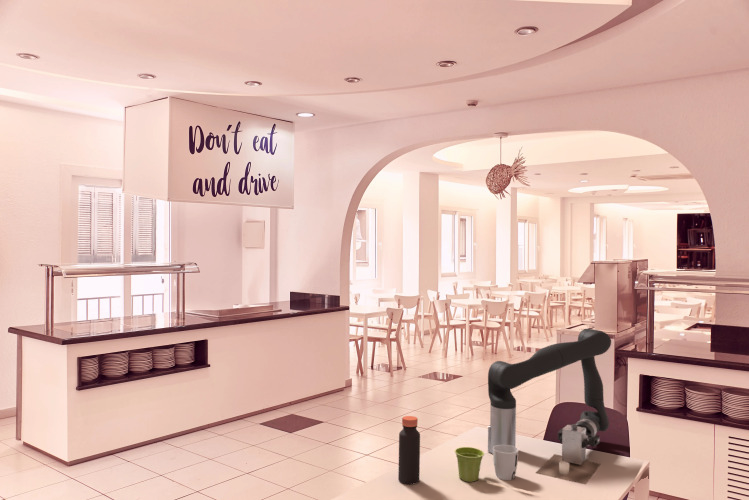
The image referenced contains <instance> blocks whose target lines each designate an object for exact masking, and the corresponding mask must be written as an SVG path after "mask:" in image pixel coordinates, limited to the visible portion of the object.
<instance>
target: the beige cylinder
mask: <svg viewBox="0 0 749 500" xmlns="http://www.w3.org/2000/svg"><path fill="white" fill-rule="evenodd" d="M559 474H561V475H565V476H567V475H569V463H568V462H565V461H560V462H559Z"/></svg>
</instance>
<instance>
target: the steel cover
mask: <svg viewBox="0 0 749 500" xmlns="http://www.w3.org/2000/svg"><path fill="white" fill-rule="evenodd" d="M561 429H562V444H561V456H562V461H565V462H570V463H575V464H579V465H581V464H582V463H583V462H584V461H586V458H587V457H586V454H587V453H586V450H587V449H586V448H587V447H585V448H582V441H583V440H584V439H585V438H586V428H583V427H578V426H577V425H576V423H573V424H572V423H571V424H567V425H565V426H564V427H563V428H561Z"/></svg>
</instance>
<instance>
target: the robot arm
mask: <svg viewBox="0 0 749 500" xmlns="http://www.w3.org/2000/svg"><path fill="white" fill-rule="evenodd" d="M611 346H612V339H611V337H610V335H609V334H608V333H606V332H604V331H602V330H598V329H592V328H584V329H581V331H580V332H579V333H578V337H577V340H576V341H570V342H569V341H568V342H565V341H564V342H559V343H554V344H550V345H546V346H545V347H542V348H540V349H538V350H537V351H535V352H534V353H533V355H532V356H531V357H529V358H528V359H526V360H524V361H520V362H517V363H509V362H506V361H502V360H497V361H495V362H493V363H491V365H490V366H489V369H488V373H487V388H488V389H487V391H488V398H489V401H490V402H489V403H490V411H489V412H490V414H489V415H490V416H489V417H490V418H489V419H490V420H489V421H490V422H489V424H490V425H488V426H487V452H488V453H491V454H492V455H493V447H494V446H496V445H510V446H514V447H516V441H517V440H516V439H517V437H516V436H517V433H516V431H517V430H516V429H517V427H516V426H517V399H516V398H515V396H514V395H513V393H512V392H511V391H512V390H513V389H515V388H518V387H519V386H521V385H523V384H525V383H526V382H529V381H530V380H533V379H535V378H538V377H540V376H543V375H546V374H548V373H552V372H555V371H557V370H559V369H561V368H564V367H567V366H570V365H572V364H574V363H577V362H579V361H580V363H581V369H582V374H583V386H584V387H583V388H584V389H583V390H584V391H583V392H584V393H583V394H584V403H585V405H586V406H588V407H591V408H593V409H595V410H596V411H591V410H584V411H582V412H581V414H580V419H579V420H578V421H577V422H576V423H575V424H576V425H577V426H578V427H583V428H586V438H585V439H584V440H583V441H582V448H585V447H586V448H587V447H590V446H591V447H593V448H594V447H596V446H598V445H599V444H600V435H598V434H597V433H599V432H606V431H607V430H608V429H609V426H610V421H609V416H608V413H607V411H606V408H605V402H604V384H603V379H602V377H601V375H600V372H599V370H598V367H597V363H596V359H595V357H596V356H601V355H603V354H605V353H607V352H608V351H609V349H610V348H611ZM562 429H563V428H560V429H559V430H558V431H557V440H558V441H559V443H560V444H561V445H562Z"/></svg>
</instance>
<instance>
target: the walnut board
mask: <svg viewBox="0 0 749 500" xmlns="http://www.w3.org/2000/svg"><path fill="white" fill-rule="evenodd" d="M560 461H562V454H561V455H560V454H555V453H554V454H553V455H552V456H551V457H550V458H549V459H548V460H547V461H545V463H544V464H542V465H541V467H540V468H538V470H536V471H535V474H538V475H542V476H547V477H551V478H555V479H560V480H565V481H568V482H572V483H578V484H582V485H586V484H587V483H588V482H589V481H590V479H591V478H592V477H593V476H594V474H595V472H596V471H597V470H598V468H599V467H600V466H601V463H599V462H594V461H589V460H585V461H584V462H583V463H582V464H581V465H579V464H575V463H570V462H568V463H569V475H567V476H565V475H561V474H559V462H560Z"/></svg>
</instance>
